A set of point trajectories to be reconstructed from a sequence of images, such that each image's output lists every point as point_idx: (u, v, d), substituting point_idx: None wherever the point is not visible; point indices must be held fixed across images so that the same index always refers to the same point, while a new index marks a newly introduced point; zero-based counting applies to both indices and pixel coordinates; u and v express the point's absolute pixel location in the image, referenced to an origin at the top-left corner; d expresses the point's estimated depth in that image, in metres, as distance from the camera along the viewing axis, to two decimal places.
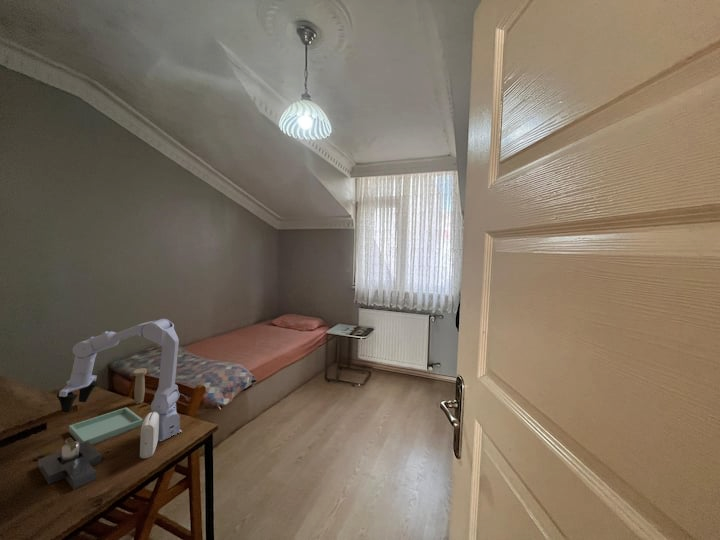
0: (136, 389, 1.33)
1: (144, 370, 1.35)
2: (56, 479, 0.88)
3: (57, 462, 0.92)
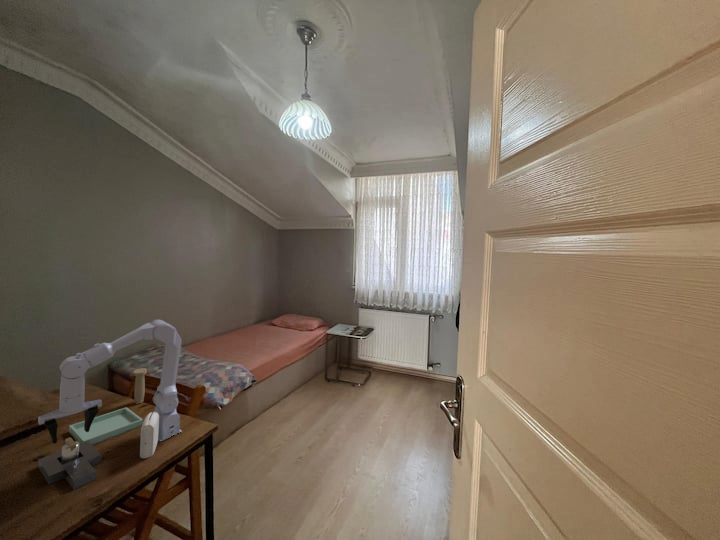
0: (136, 389, 1.33)
1: (144, 370, 1.35)
2: (56, 479, 0.88)
3: (57, 462, 0.92)
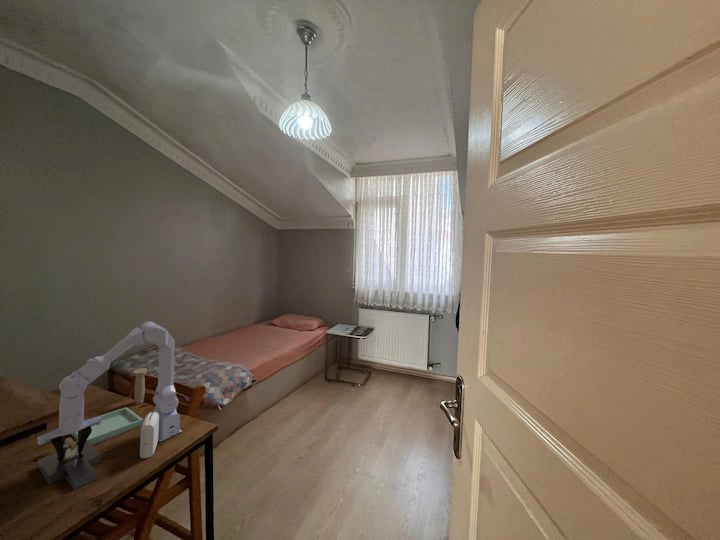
0: (136, 389, 1.33)
1: (144, 370, 1.35)
2: (56, 479, 0.88)
3: (57, 462, 0.92)
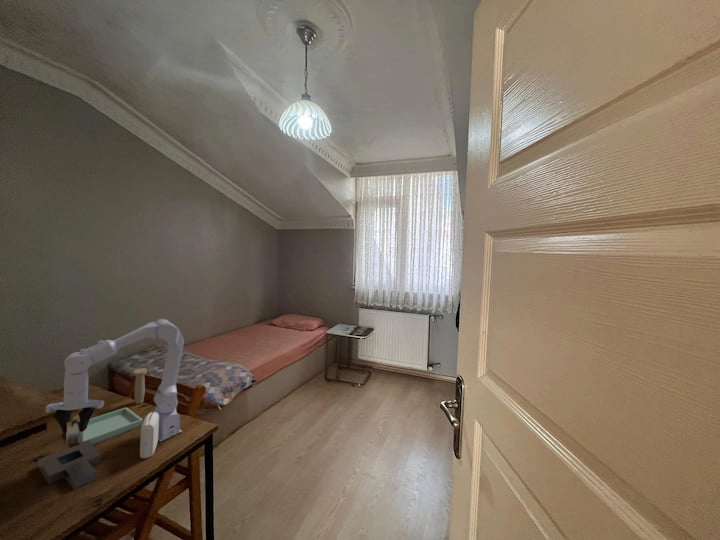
0: (136, 389, 1.33)
1: (144, 370, 1.35)
2: (56, 479, 0.88)
3: (57, 462, 0.92)
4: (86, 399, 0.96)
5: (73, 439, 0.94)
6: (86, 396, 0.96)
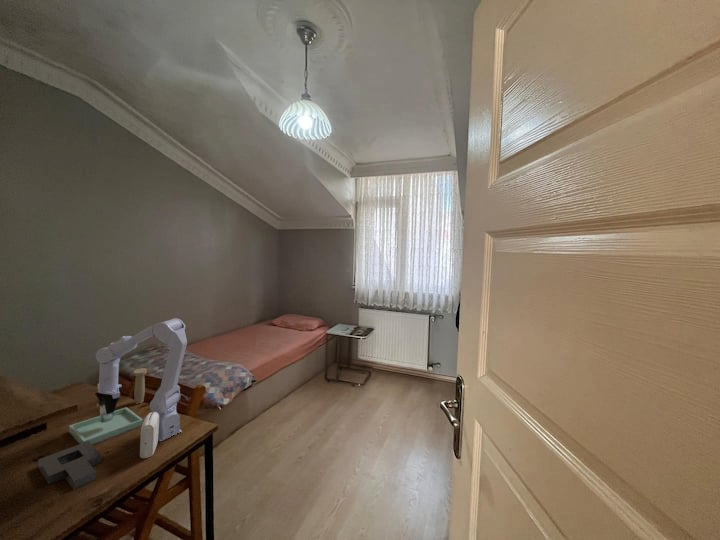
0: (136, 389, 1.33)
1: (144, 370, 1.35)
2: (56, 479, 0.88)
3: (57, 462, 0.92)
4: (111, 387, 1.12)
5: (101, 418, 1.12)
6: (111, 384, 1.12)
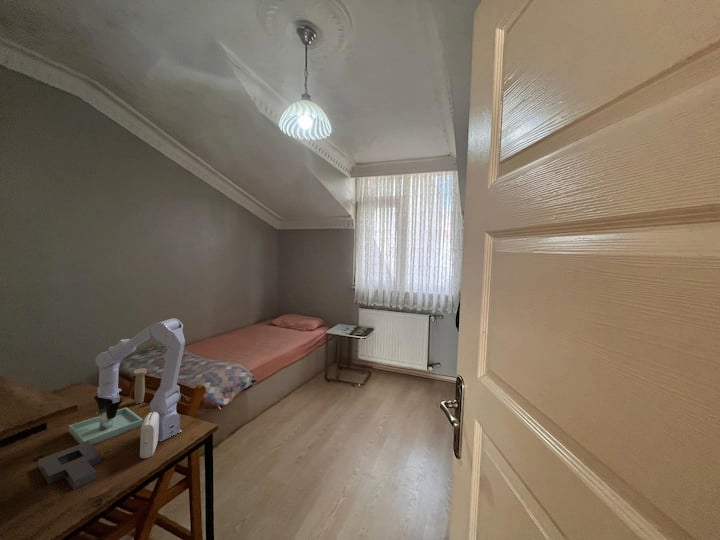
0: (136, 389, 1.33)
1: (144, 370, 1.35)
2: (56, 479, 0.88)
3: (57, 462, 0.92)
4: (111, 391, 1.12)
5: (101, 426, 1.12)
6: (111, 389, 1.12)
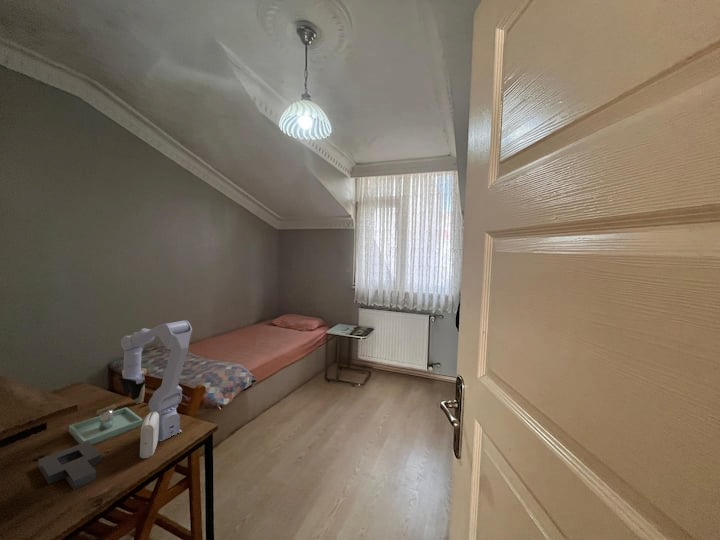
0: None
1: (144, 370, 1.35)
2: (56, 479, 0.88)
3: (57, 462, 0.92)
4: (135, 373, 1.20)
5: (101, 426, 1.12)
6: (135, 370, 1.19)
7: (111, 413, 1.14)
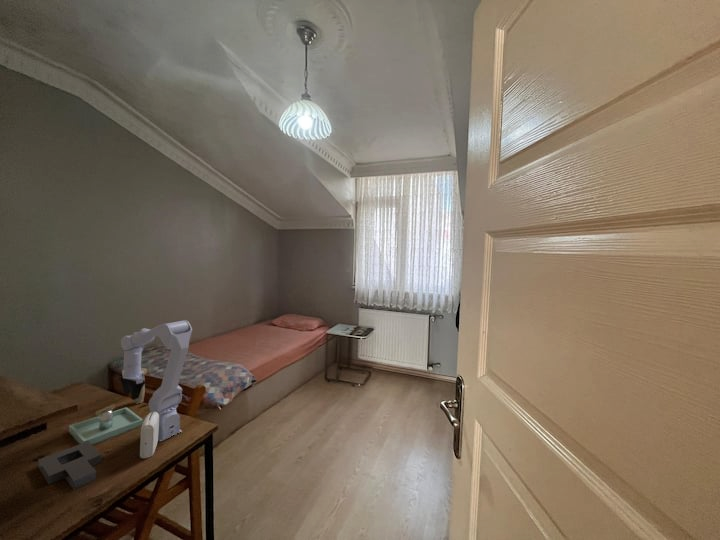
0: None
1: (144, 370, 1.35)
2: (56, 479, 0.88)
3: (57, 462, 0.92)
4: (135, 373, 1.20)
5: (101, 426, 1.12)
6: (135, 370, 1.19)
7: (110, 413, 1.14)
